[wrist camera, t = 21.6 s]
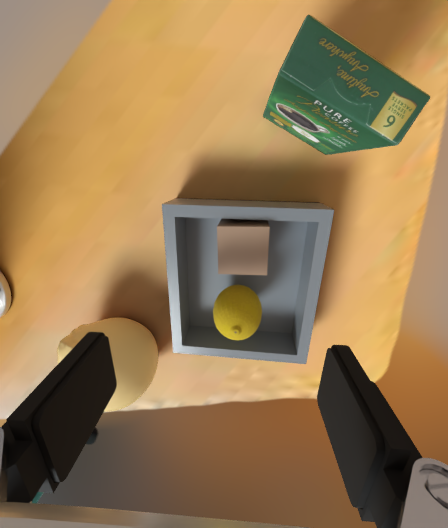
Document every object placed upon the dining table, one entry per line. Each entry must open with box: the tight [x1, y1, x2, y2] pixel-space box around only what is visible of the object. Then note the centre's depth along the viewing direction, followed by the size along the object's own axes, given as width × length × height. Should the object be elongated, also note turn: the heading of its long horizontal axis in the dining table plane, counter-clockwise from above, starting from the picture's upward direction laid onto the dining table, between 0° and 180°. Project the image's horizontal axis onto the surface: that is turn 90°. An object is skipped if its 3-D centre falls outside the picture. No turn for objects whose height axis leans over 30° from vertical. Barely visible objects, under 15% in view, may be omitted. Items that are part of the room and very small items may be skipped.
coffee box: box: [263, 15, 430, 155], centre depth 19 cm, size 8×3×13 cm, turn 62°
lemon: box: [213, 285, 262, 340], centre depth 28 cm, size 6×6×8 cm
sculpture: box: [57, 318, 158, 412], centre depth 32 cm, size 11×12×11 cm
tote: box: [162, 198, 334, 364], centre depth 29 cm, size 16×18×5 cm
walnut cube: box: [217, 219, 270, 275], centre depth 26 cm, size 5×5×5 cm
